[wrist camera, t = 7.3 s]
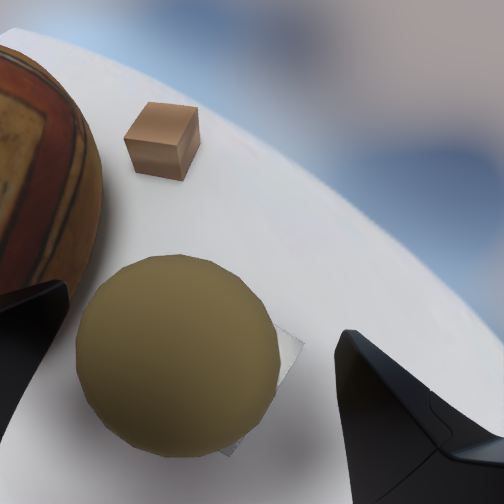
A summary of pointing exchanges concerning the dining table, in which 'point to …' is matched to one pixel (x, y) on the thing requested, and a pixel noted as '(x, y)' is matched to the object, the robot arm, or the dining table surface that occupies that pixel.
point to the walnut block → (164, 140)
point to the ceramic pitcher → (44, 179)
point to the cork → (177, 356)
